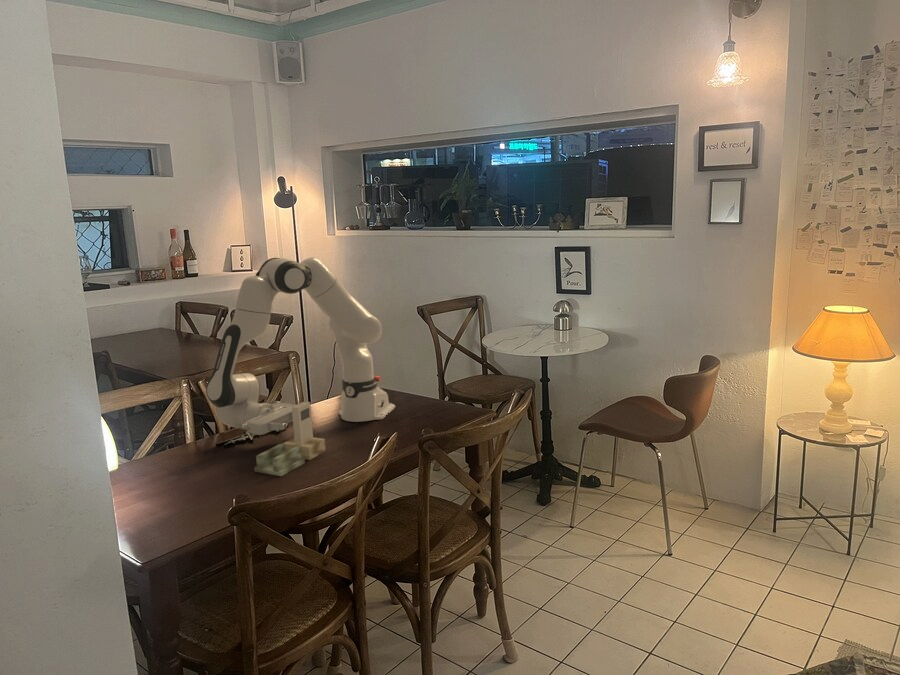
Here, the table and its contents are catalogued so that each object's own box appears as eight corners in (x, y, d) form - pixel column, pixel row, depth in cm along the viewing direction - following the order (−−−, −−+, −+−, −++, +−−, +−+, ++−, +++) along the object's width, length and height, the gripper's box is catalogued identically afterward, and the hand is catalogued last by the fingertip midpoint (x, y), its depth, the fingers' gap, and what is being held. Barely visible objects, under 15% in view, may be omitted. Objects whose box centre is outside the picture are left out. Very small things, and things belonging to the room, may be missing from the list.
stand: (300, 447, 220) (299, 435, 219) (325, 451, 215) (324, 439, 214) (284, 455, 213) (283, 443, 212) (310, 459, 208) (309, 447, 207)
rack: (278, 458, 210) (277, 443, 209) (304, 462, 206) (303, 447, 205) (254, 471, 201) (252, 455, 200) (281, 476, 196) (279, 460, 195)
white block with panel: (306, 437, 216) (303, 401, 214) (313, 438, 215) (310, 402, 213) (294, 443, 211) (291, 406, 209) (301, 445, 210) (298, 407, 208)
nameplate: (279, 420, 245) (297, 425, 238) (280, 424, 245) (297, 429, 239) (211, 442, 224) (228, 448, 218) (211, 446, 224) (228, 452, 218)
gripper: (236, 417, 210) (271, 422, 204) (280, 399, 228) (313, 403, 222) (238, 437, 211) (273, 442, 205) (281, 417, 229) (314, 421, 223)
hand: (294, 422), depth 213 cm, fingers open, 8 cm apart
